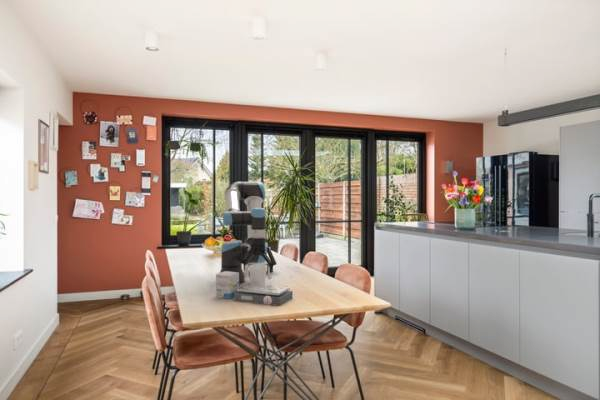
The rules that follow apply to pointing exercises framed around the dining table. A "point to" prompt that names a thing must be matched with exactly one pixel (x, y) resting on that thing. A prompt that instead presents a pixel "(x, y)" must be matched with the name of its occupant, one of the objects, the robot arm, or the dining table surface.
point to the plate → (263, 289)
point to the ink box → (227, 284)
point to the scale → (263, 297)
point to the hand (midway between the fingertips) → (258, 277)
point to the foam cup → (258, 273)
